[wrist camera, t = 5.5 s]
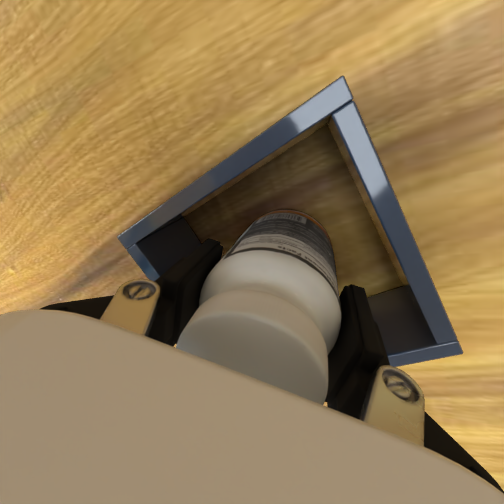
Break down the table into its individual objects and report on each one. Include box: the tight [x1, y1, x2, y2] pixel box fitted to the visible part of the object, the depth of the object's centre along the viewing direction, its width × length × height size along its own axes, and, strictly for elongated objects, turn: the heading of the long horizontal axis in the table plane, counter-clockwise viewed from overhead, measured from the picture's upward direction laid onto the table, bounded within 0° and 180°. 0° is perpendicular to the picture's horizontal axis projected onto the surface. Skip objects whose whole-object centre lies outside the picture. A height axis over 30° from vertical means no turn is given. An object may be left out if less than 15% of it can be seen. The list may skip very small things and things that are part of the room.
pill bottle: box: [176, 210, 342, 405], centre depth 12 cm, size 6×6×10 cm
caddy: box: [117, 76, 463, 367], centre depth 14 cm, size 12×12×5 cm
